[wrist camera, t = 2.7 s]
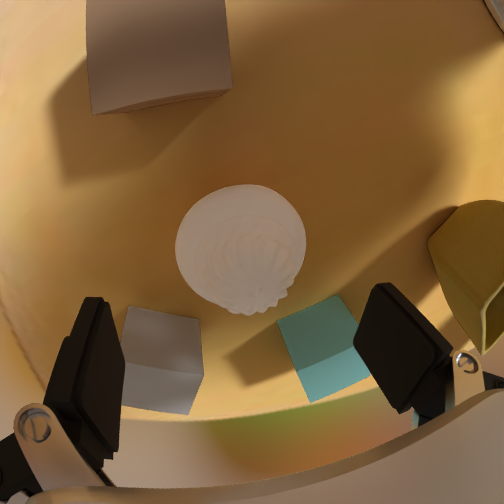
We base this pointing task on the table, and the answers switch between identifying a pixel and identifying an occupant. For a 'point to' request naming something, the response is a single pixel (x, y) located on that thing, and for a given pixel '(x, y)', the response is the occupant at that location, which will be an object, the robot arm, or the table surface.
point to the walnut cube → (155, 52)
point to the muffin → (241, 248)
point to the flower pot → (473, 269)
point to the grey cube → (161, 361)
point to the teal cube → (323, 347)
